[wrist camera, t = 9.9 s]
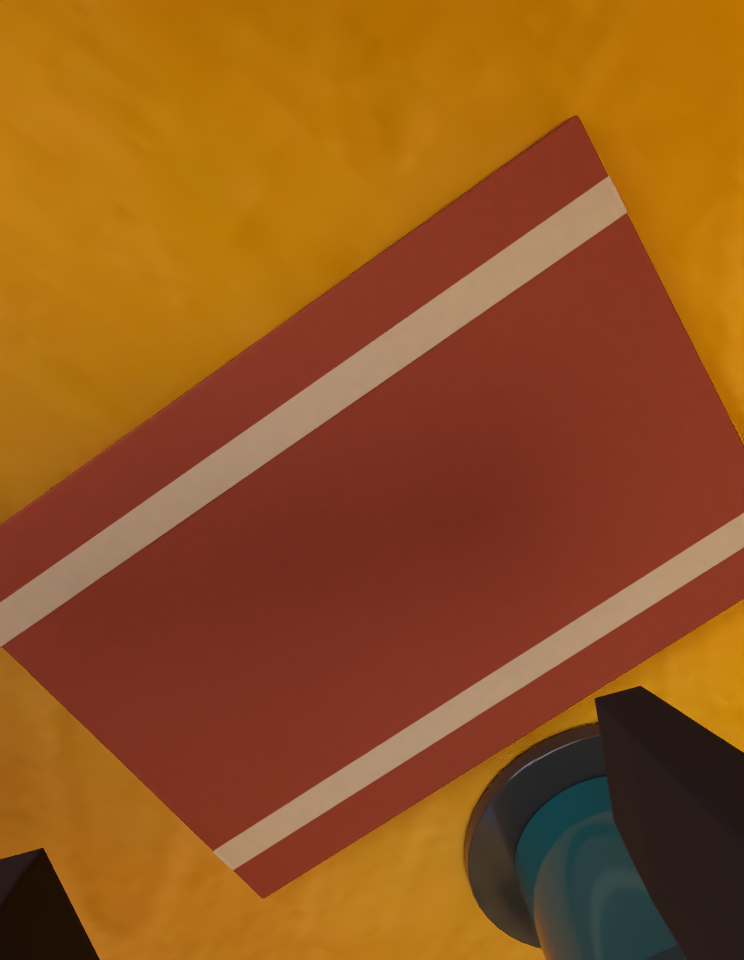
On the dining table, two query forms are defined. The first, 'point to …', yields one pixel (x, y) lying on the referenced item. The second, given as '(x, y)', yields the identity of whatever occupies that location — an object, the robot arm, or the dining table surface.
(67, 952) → the robot arm
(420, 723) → the tea towel
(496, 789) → the polished metal trivet
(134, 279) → the dining table surface
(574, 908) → the pot
